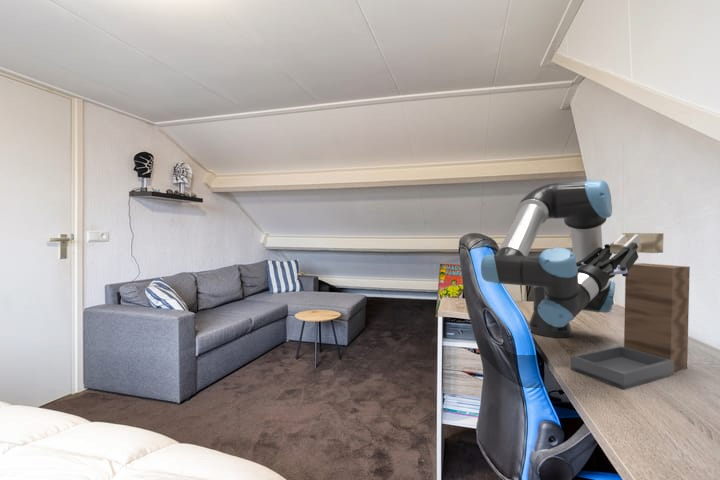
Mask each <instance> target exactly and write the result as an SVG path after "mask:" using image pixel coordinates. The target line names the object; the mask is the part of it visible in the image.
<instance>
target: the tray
mask: <svg viewBox="0 0 720 480" xmlns="http://www.w3.org/2000/svg"><path fill="white" fill-rule="evenodd" d="M570 357H571V358H570V370H571V371H574V372H577V373H578V374H582V375H584V376H587V377H590V378H592V379H595V380H598V381H600V382H602V383H606V384H608V385H611V386H612V387H616V388H619V389H621V390H623V391H624V390H628V389H630V388H634V387H637V386H641V385H643V384H648V383H650V382H654V381H657V380H662V379H664V378H667V377H670V376H673V375H675V374H674V373H675V372H674V361H673V360H670V359H666V358H662V357H659V356H655V355H652V354H648V353H644V352H641V351H637V350H634V349H630V348H626V347H624V345H616V346H611V347H607V348H603V349H598V350H593V351H588V352H584V353H579V354H578V353H577V354H574V355H570Z"/></svg>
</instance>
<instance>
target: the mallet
mask: <svg viewBox="0 0 720 480" xmlns="http://www.w3.org/2000/svg"><path fill="white" fill-rule="evenodd" d="M622 235H626V237H627V241H629V240H630V239H631V238H632V237H633V236H634V235H639V238H640V242H641V243H640V244H639V245H638V248H637V249H636V251H637V254H639V253H641V254H642V253H645V254H659V253H660V254H661V253H664V232H663V233H660V232H659V233H657V232H655V233H652V232H651V233H649V232H648V233H647V232H646V233H645V232H643V233H642V232H636V233H635V232H629V233H627V232H623V233H621V236H622ZM609 245H610V253H612V254H613V253H617V254H618V253H619V252H620V251H622V250H623V249H624V248H623V246H624V245H625V244H612V243H610V244H609Z"/></svg>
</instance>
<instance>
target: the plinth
mask: <svg viewBox="0 0 720 480" xmlns="http://www.w3.org/2000/svg"><path fill="white" fill-rule="evenodd" d="M690 270H691V269H690V266H687V265H685V266H684V265H671V264H658V263H645V262H643V263H641V262H639V263H634V264H633V265H632V267H631V268H630V269H629V271H628V276H624V278H625V283H624V284H625V285H624V327H623V328H624V331H623V332H624V338H623V341H624V342H623V347H626V348H630V349H634V350H637V351H641V352H644V353H648V354H652V355H655V356H659V357H662V358H666V359H670V360H673V361H674V373H675V372H679V371H683V370H686V369H688V355H689V354H688V352H689V349H688V348H689V346H688V345H689V313H690V312H689V311H690V310H689V309H690V308H689V306H690V304H689V303H690V272H691V271H690Z"/></svg>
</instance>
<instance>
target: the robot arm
mask: <svg viewBox="0 0 720 480" xmlns="http://www.w3.org/2000/svg"><path fill="white" fill-rule="evenodd" d="M515 213H516V216H515V218H514V219H513V222H512V224H510V225H511V226H510V227H509V228H508V229H509V230H508V231H507V233H506V235H505V236H504V239H503V241H502V243H501V245H500V247H499V249H498V250H497V252H496V253H495V254H494V253H493V254H486V255H484V256H483V258H482V259H481V263H480V274H481V277H482V279H483V280H484V281H485V282H488V283H494V284H499V285H501V284H502V285H515V286H526V287H533V312H532V315H531V318H530V320H529V323H528V327H529V326H530V329H531V331H532V332H531V333H532V334H535V335H539V336H543V337H550V338H569V337H571V336H572V332H573V331H572V327H571V326H572V325H571V324H570V322H572V321H573V320H574V318H576V317H577V316H578V314H579V313H581V312H582V311H585V312H594V313H604V314H605V313H610V312H611V311H612V310H613V309H612V308H613V304H614V303H613V302H614V297H615V296H614V295H615V288H616V283H615V282H614V281H612V280H610V279H613V278H614V277H615V276H616V275H622V277H625V276H628V271H629V269H630V268H631V267H632V265H633V264H636V261H637V260H638V259H639V253H637V251H636V249H637V248H638V245H639V244H640V243H641V242H640V238H639V235H634V236H633V237H632V238H631V239H630V240H629V241H627V237H626V235H622V234H621V236H620V237H618V238H617V239H616V240H615V241H614V242H612V243H611V244H625V245H624V246H623V248H624V249H623V250H622V251H620V252H619V253H610V244H609V243H607V244H604V247H603V235H602V234H603V233H602V226H603V225H604V224H605V223H606V222H607V218H608V219H609V218H610V217H612V213H613V202H612V195H611V189H610V187H609V184H608V183H607V182H606V181H605V180H602V179H595V180H594V179H593V180H592V179H587V180H579V181H568V182H567V181H566V182H554V183H553V182H552V183H551V182H550V183H547V184H543V185H541V186H539V187H536V188H534V189H533V190H531V191H530V192H529V193H527V194H526V195H525V196H524V197H523V198H522V199H521V200H520V202H519V204H518V205H517V207H516V211H515ZM549 219H551V220H552V219H556V220H557V219H563V222H564V225H566V227H567V228H569V229H570V236H571V237H570V238H571V245H572V251H571V250H570V249H568V248H565V247H557V246H556V247H555V246H554V247H552V248H547V249H545V250H543V251H542V252H541V253H540V255H539V256H532V255H531V256H529V253H530V251H531V249H532V247H533V244H534V242H535V239H536V237H537V235H538V233H539V231H540V229H541V228H540V227H541V226H542V224H544V223H545V222H546V221H547V220H549Z"/></svg>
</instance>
